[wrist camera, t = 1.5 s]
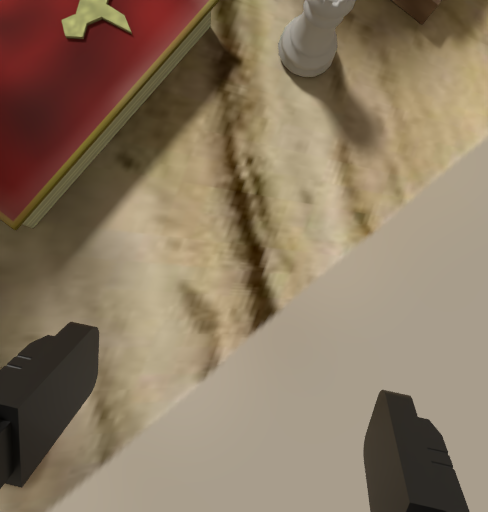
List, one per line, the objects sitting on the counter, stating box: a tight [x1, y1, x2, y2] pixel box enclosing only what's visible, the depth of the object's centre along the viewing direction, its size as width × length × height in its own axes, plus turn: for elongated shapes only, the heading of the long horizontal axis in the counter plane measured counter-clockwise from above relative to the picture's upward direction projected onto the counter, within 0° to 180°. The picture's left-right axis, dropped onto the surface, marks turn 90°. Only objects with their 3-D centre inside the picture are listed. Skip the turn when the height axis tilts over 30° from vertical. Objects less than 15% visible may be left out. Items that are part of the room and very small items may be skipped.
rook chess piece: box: [278, 0, 356, 77], centre depth 31 cm, size 4×4×8 cm
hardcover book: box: [0, 0, 219, 230], centre depth 32 cm, size 12×21×4 cm, turn 142°
